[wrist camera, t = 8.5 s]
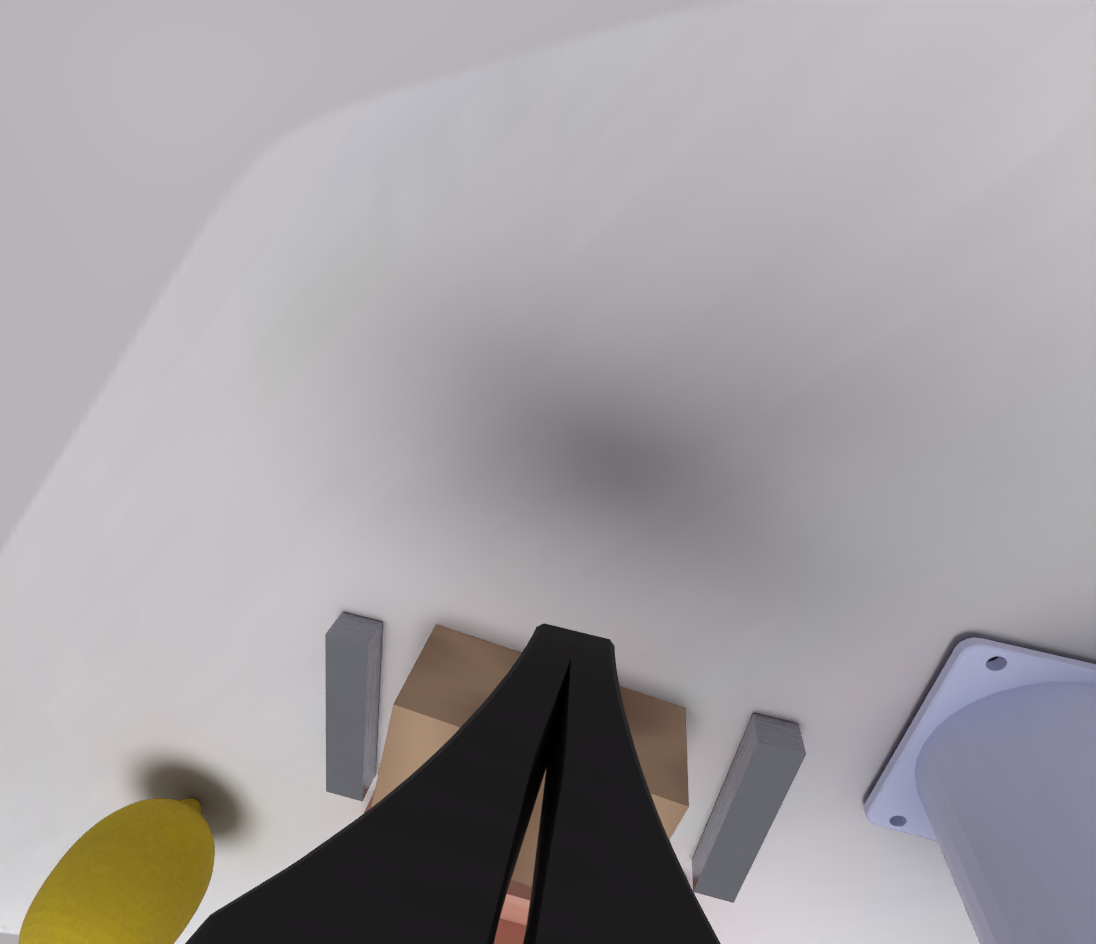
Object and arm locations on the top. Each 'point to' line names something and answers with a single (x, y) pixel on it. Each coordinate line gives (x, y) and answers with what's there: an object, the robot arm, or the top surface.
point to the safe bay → (731, 827)
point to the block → (461, 688)
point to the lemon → (127, 879)
